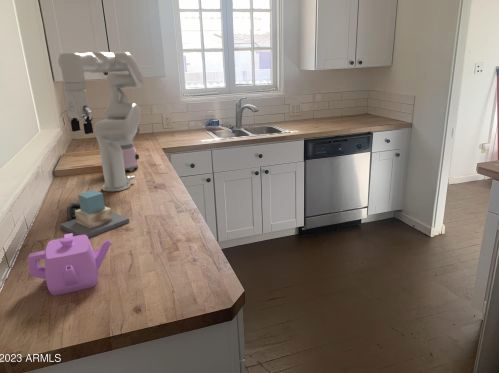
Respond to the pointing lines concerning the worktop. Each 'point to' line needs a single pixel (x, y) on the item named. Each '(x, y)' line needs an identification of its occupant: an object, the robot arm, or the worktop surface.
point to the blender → (129, 154)
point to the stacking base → (99, 228)
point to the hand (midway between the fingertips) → (82, 132)
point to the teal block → (91, 201)
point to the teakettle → (68, 264)
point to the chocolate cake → (72, 211)
